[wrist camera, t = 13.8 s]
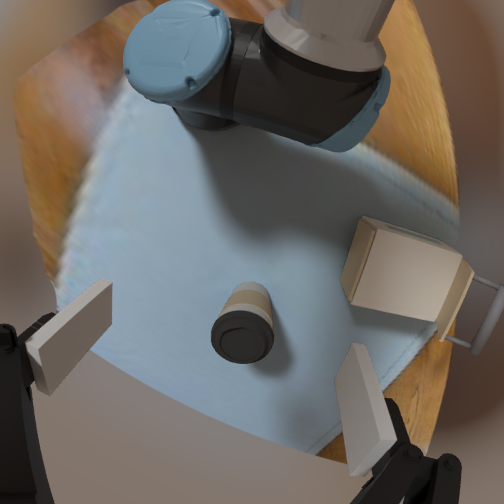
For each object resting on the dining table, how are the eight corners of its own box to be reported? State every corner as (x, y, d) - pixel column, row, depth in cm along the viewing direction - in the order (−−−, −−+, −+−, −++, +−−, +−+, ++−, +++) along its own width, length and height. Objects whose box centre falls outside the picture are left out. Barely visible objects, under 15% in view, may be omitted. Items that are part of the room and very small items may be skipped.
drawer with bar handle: (472, 272, 33) (513, 290, 30) (462, 258, 40) (498, 274, 38) (439, 342, 37) (479, 357, 34) (436, 319, 44) (471, 333, 41)
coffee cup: (283, 312, 56) (282, 363, 42) (237, 326, 58) (224, 377, 43) (264, 268, 54) (258, 311, 39) (217, 285, 55) (196, 329, 41)
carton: (359, 213, 49) (374, 226, 41) (439, 238, 49) (463, 254, 40) (337, 279, 53) (347, 303, 44) (416, 298, 53) (434, 322, 44)
